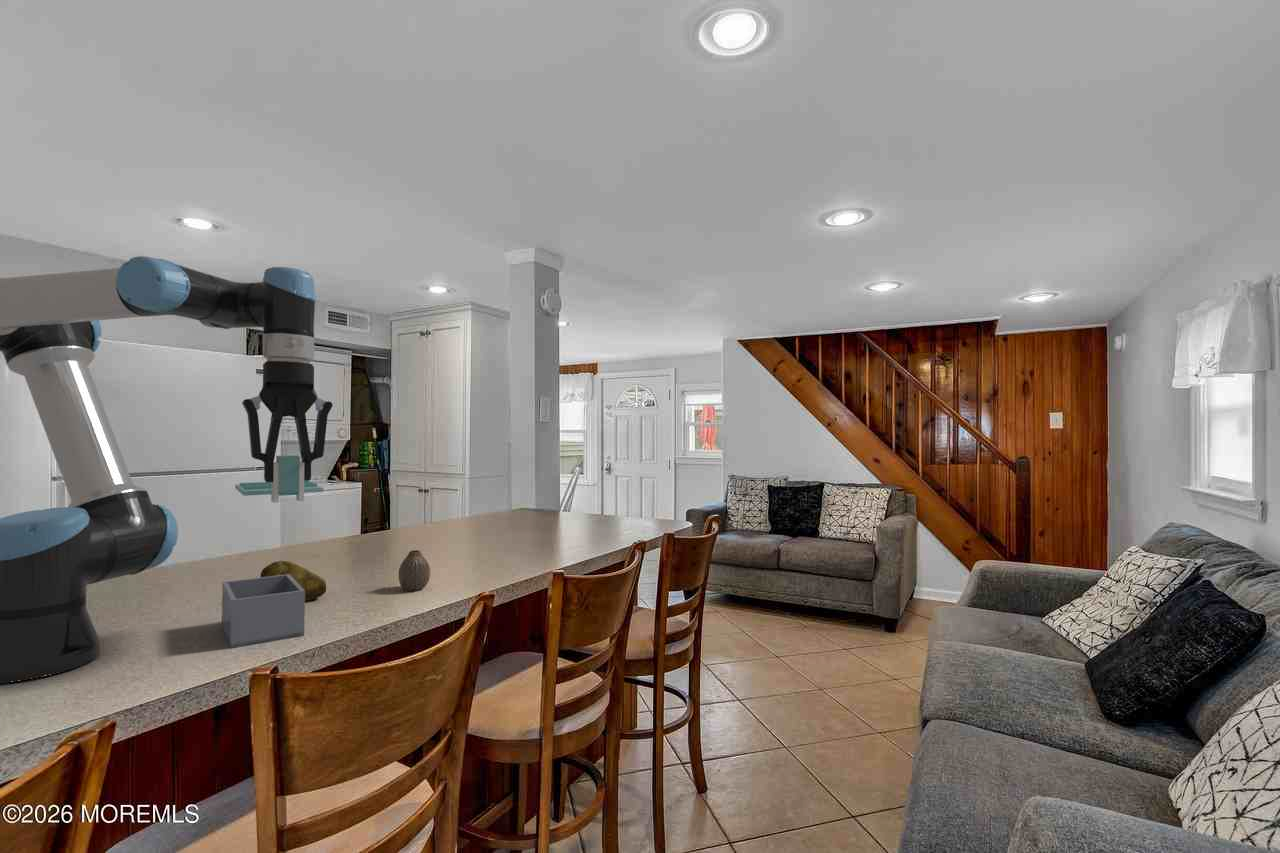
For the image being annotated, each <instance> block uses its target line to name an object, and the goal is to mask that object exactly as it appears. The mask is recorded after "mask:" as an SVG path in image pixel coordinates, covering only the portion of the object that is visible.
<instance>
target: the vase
mask: <svg viewBox="0 0 1280 853" xmlns="http://www.w3.org/2000/svg"><path fill="white" fill-rule="evenodd" d="M397 576H398V581H399V584H400V586H401V588H402V589H403V590H404V591H406V592H416V591H417V592H418V591H421V590H423V589H424V588H425V587H426V586H427V585H428V583H429V581H430V577H431V568H430V565H429V562H428V561H427V559H426V558H425V557H424V556H423V554H422V551H421V550H418V549H415V550H413V549H412V550H409V552H408V554H407V555H406V557H405V558H404V559H403V561H402V562H401V564H400V565H399V569H398V574H397Z"/></svg>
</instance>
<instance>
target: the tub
mask: <svg viewBox="0 0 1280 853" xmlns="http://www.w3.org/2000/svg"><path fill="white" fill-rule="evenodd" d="M221 591H222V595H221V596H222V597H221V598H222V599H221V600H222V601H221V604H222V605H221V627H222V629H223V631H224V635H225V637H226V639H228V640H227V642H228V645H229V644H230V645H229V647H230V648H231V647H235V648H238V647H237V646H241V647H245V646H244V645H246V646H251V645H250V644H252V645H256V643H258V644H263V643H269V642H273V641H280V640H286V638H287V639H291V638H298V637H303V636H305V613H306V612H305V611H306V610H305V608H306V604H305V603H306V601H305V590H304V589H303V588H302V587H301V586H300V585H299V584H298V583H297V582H296V581H295V580H294V578H293V577H292V576H291V575H290V574H287V575H278V576H270V577H261V578H260V577H253V578H245V579H236V580H229V581H228V580H227V581H222V590H221Z"/></svg>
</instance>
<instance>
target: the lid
mask: <svg viewBox="0 0 1280 853" xmlns="http://www.w3.org/2000/svg"><path fill="white" fill-rule="evenodd" d="M275 456H276V461H275V462H277V463H279V497H280V496H281V497H282V496H296V495H298V492H299V462H301V460H300V458H301V455H300V456H299V455H275ZM234 488H235V490H236V491H238V492H239V493H240V494H241V495H242V496H263V495H266V496H267V495H271V482H265V481H261V482H259V481H257V482H254V481H253V482H239V483H235V485H234ZM323 492H324V487H322V486H319V485H318V483H315V482H313V481H310V480H308V481H304V494H307V493H323Z"/></svg>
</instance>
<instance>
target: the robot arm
mask: <svg viewBox="0 0 1280 853" xmlns="http://www.w3.org/2000/svg"><path fill="white" fill-rule="evenodd" d="M315 293H316V292H315V279H314V276H312V275H311V274H310V273H309V272H308V271H305V270H302V269H298V268H294V267H285V266H273V267H270V268H269V267H268V268H266V269H265V270H264V273H263V278H262V281H259V282H237V281H236V282H235V281H231V280H229V279H226V278H221V277H218V276H216V275H211V274H209V273H205V272H201V271H200V270H199V271H198V270H196V269H193V268H190V267H186V266H182V265H180V264H176V263H174V262H172V261H170V260H169V261H168V260H167V259H162V258H155V257H152V256H151V257H149V256H147V255H145V256H144V255H141V256H139V255H138V256H134V257H132V258H130V259H129V260H128V261H127V262H124V263H122V265H120V267H115V268H103V269H91V270H80V271H78V270H77V271H69V272H57V273H47V274H46V273H45V274H36V275H25V276H24V275H23V276H22V275H21V276H13V277H12V276H11V277H0V352H1V353H2V354H3V357H4V359H5V362H6V364H7V368H8V370H9V371H11V372H12V373H15V374H18V375H21V376H22V377H24V379H25V382H26V384H27V387H28V390H29V393H30V395H31V397H32V401H33V403H34V406H35V408H36V412H37V413H38V415H39V418H40V421H41V424H42V427H43V429H44V432H45V435H46V437H47V441H48V442H49V446H50V448H51V450H52V453H53V455H54V458H55V461H56V464H57V466H58V469H59V471H60V474H61V477H62V479H63V482H64V485H65V487H66V490H67V493H68V495H69V499H70V503H69V504H68V506H67V507H64V506H63V507H51V508H45V509H34V510H28V511H24V512H23V511H22V512H19V513H14V514H11V515H7V516H3V517H0V683H2V684H7V683H6V682H11V681H18V680H25V679H31V678H36V677H41V676H44V675H49V674H54V673H58V672H62V671H65V672H67V671H66V670H68V671H71V670H74V669H77V668H80V667H81V666H84V664H85V665H87V664H88V662H89V663H91V662H92V661H94V660H95V659H97V658H98V657H97V656H98V655H100V654H99V653H101V652H100V650H101V649H100V647H101V646H100V644H101V642H100V637H99V636H98V632H97V630H96V628H95V626H94V624H93V621H92V618H91V617H90V614H89V611H88V609H87V587H88V585H92V584H96V583H100V582H104V581H108V580H112V579H116V578H120V577H124V576H133V575H138V574H139V573H141V572H144V571H146V570H149V569H153V568H156V567H158V566H160V565H161V564H162V563H164V562H165V561H166V560H167V559H168V558H169V557H170V556H171V554H172V553H173V552H174V547H175V546H176V545H177V542H178V538H179V537H178V536H179V528H178V527H179V526H178V522H177V519H176V517H175V515H174V514H173V512H172V511H171V510H170V509H168V508H165V506H163V505H160V504H156V503H153V502H152V500H151V498H150V495H149V492H148V490H147V489H146V488H143V487H140V486H137V485H135V484H134V482H133V480H132V478H131V476H130V473H129V471H128V468H127V465H126V463H125V460H124V457H123V454H122V452H121V450H120V447H119V444H118V442H117V439H116V436H115V434H114V431H113V428H112V426H111V423H110V421H109V418H108V415H107V413H106V410H105V408H104V405H103V402H102V400H101V397H100V394H99V393H98V390H97V387H96V384H95V382H94V379H93V377H92V373H91V371H90V368H89V365H90V364H91V363H92V362H93V361H94V359H95V358H96V357H95V352H96V351H97V349H98V348H99V345H100V343H101V340H99V338H100V337H102V328H101V323H100V321H103V320H104V321H105V320H118V319H119V320H120V319H128V318H129V319H131V318H141V317H157V316H158V317H160V316H177V317H182V318H187V319H190V320H191V319H192V320H196V321H199V322H200V324H202V325H203V326H205V327H209V328H219V329H224V330H229V329H237V328H243V329H244V328H263V335H262V336H263V340H262V342H263V344H262V347H263V348H262V357H263V359H265V360H266V361H264V363H262V387H261V390H260V391H259V392H258V395H257V396H254V397H251V398H246V399H244V400H242V402H241V403H242V404H241V405H242V406H243V408H244V410H245V412H246V414H247V422H248V423H247V424H248V433H249V443H250V444H249V445H250V455H251V457H252V458H253V459H255V460H257V461H261V462H263V479H264V482H271V494H270V498H271V500H270V502H272V503H275V504H276V503H279V502H280V496H279V463H277V462H276V461H275V456H276V452H277V447H278V442H279V436H280V430H281V426H282V421H283V417H292V418H294V423H295V428H296V433H297V440H298V445H299V453H300V458H301V461H300V462H299V492H298V495H295V497H296V501H298V502H304V501H305V493H304V481H308V480H309V481H311V479H312V462H313V461H315V460H317V459H321V458H323V456H324V454H325V453H324V452H325V444H326V433H327V423H328V415H329V413H330V411H331V410H332V407H333V402H331V401H326V400H323V399H322V398H319V397H318V395H317V392H316V390H315V366H314V365H313V364H312V363H311V362H313V361H314V360H315V330H314V329H315V310H316V301H317V300H316V295H315ZM261 402H262V403H263V404H264V405H265V407H266V409H268V411H269V412H270V413H271V417H270V424H269V429H268V434H267V440H266V446H265V451H264V452H262V444H261V434H260V433H261V432H260V423H259V413H258V410H260V409H261V407H260V406H261ZM314 404H315V410H316V411H317V414H316V422H315V431H314V440H313V441H314V442H313V450H312V449H311V445H310V439H309V433H308V432H309V431H308V426H307V416H306V415H307V412H308V411H309V410H310V408H311V407H313V405H314ZM96 657H97V658H96ZM93 659H94V660H93ZM90 661H91V662H90ZM86 663H87V664H86ZM79 666H80V667H79ZM76 667H77V668H76ZM73 668H74V669H73ZM70 669H71V670H70ZM62 673H63V672H62ZM58 674H59V673H58ZM54 675H55V674H54ZM41 678H42V677H41ZM31 680H32V679H31Z"/></svg>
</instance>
